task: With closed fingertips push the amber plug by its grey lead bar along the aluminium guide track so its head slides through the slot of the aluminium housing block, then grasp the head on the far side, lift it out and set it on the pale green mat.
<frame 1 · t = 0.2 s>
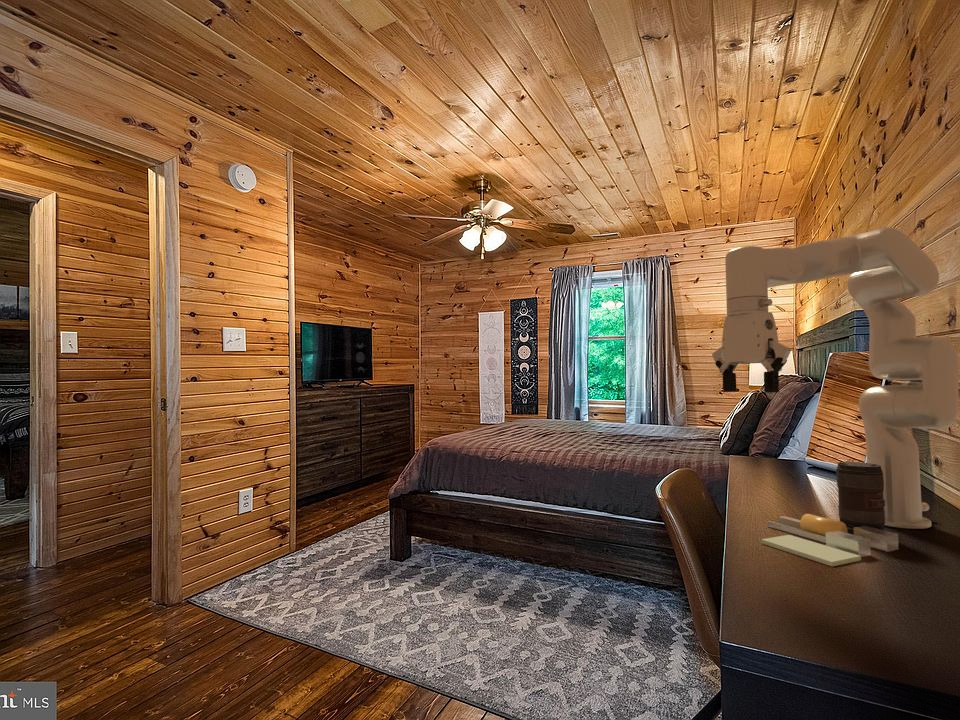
hand: (749, 391, 102), 31 cm above the table, fingers open, 9 cm apart
housing: (862, 548, 98), on the table
mat: (808, 551, 97), on the table
plug: (823, 537, 105), on the table
camera lens: (862, 535, 107), on the table
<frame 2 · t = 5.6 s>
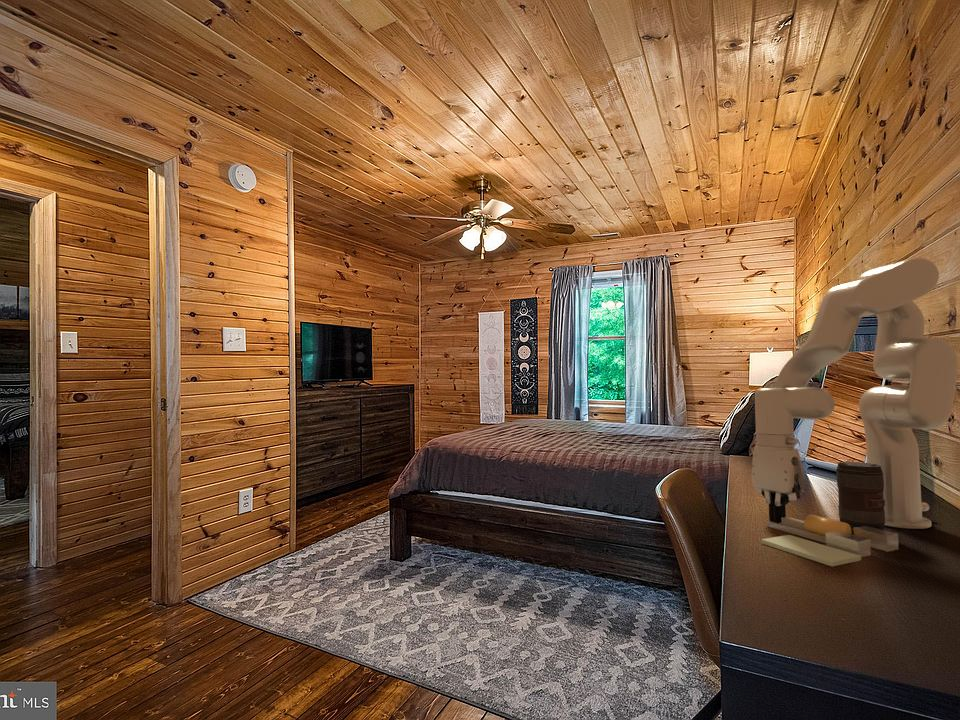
hand: (777, 521, 115), 1 cm above the table, fingers closed
plug: (827, 539, 104), on the table, touching gripper
everything else where it was.
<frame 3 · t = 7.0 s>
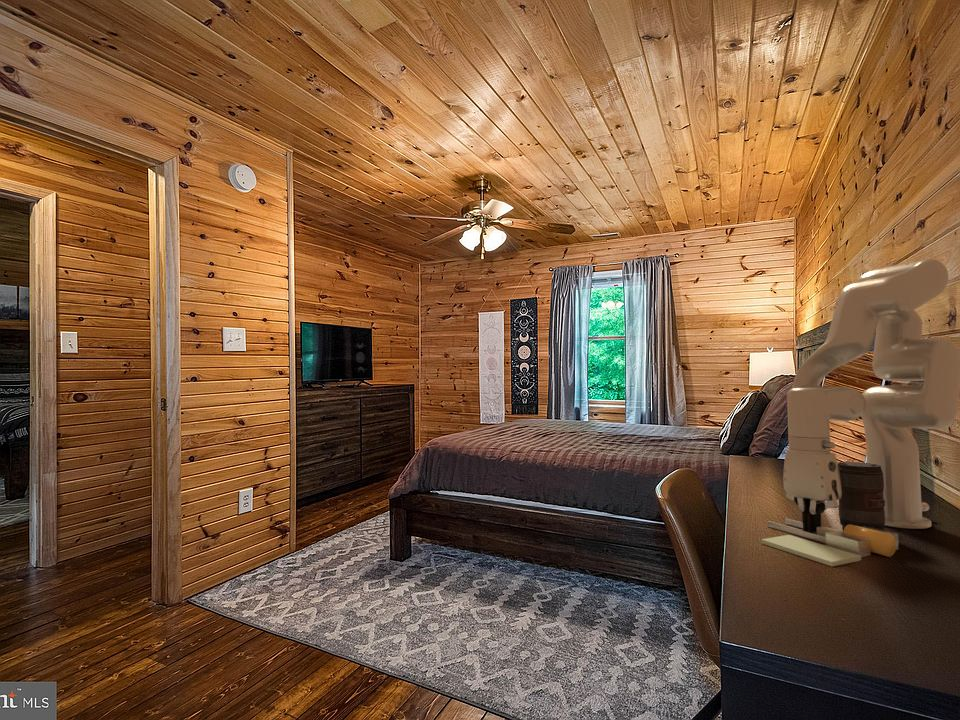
hand: (812, 531, 107), 1 cm above the table, fingers closed
plug: (869, 550, 97), on the table, touching gripper
everything else where it was.
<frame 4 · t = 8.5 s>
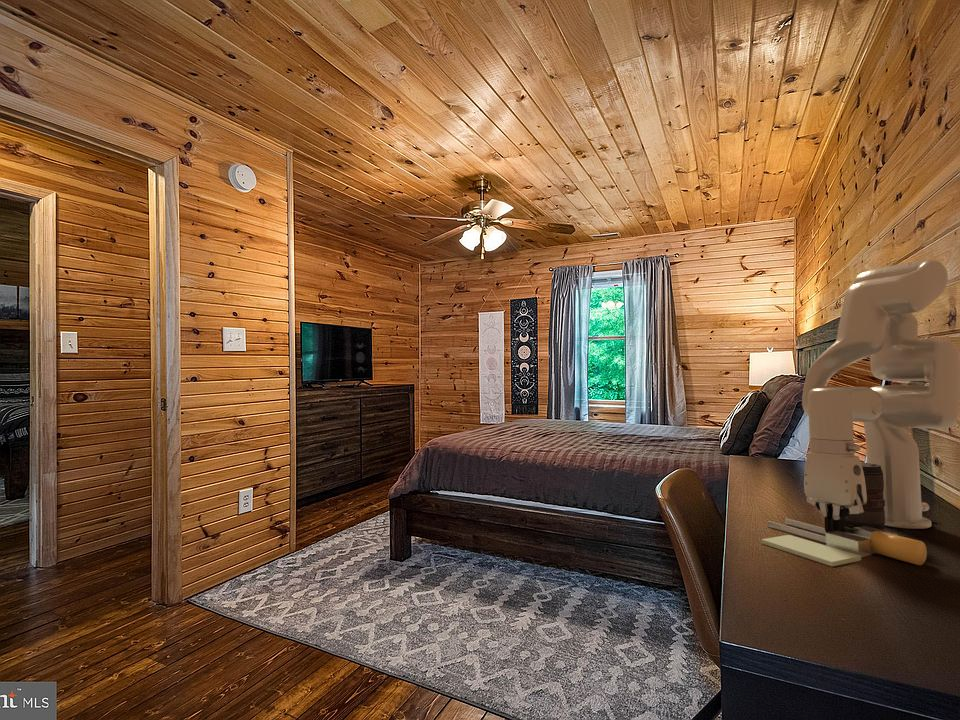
hand: (834, 537, 103), 1 cm above the table, fingers closed
plug: (897, 558, 92), on the table, touching gripper
everything else where it was.
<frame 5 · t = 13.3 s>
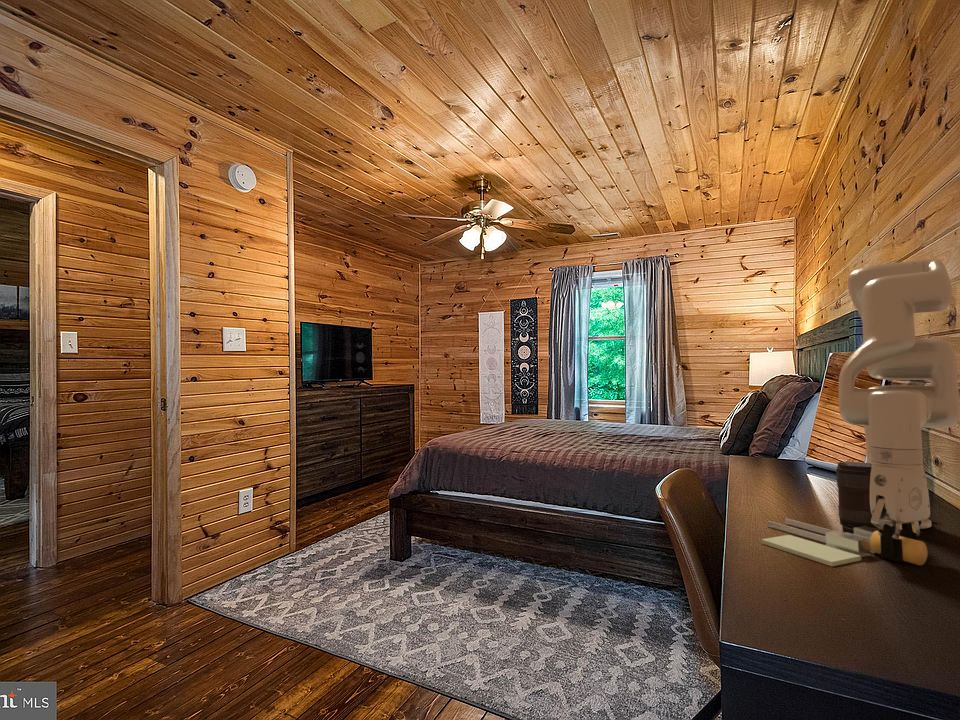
hand: (900, 556, 92), 1 cm above the table, fingers closed on plug, 4 cm apart
plug: (898, 559, 92), on the table, touching gripper
everything else where it was.
when the fingers open (3 cm above the table, at t = 18.4 s): plug drops 1 cm, resting on mat.
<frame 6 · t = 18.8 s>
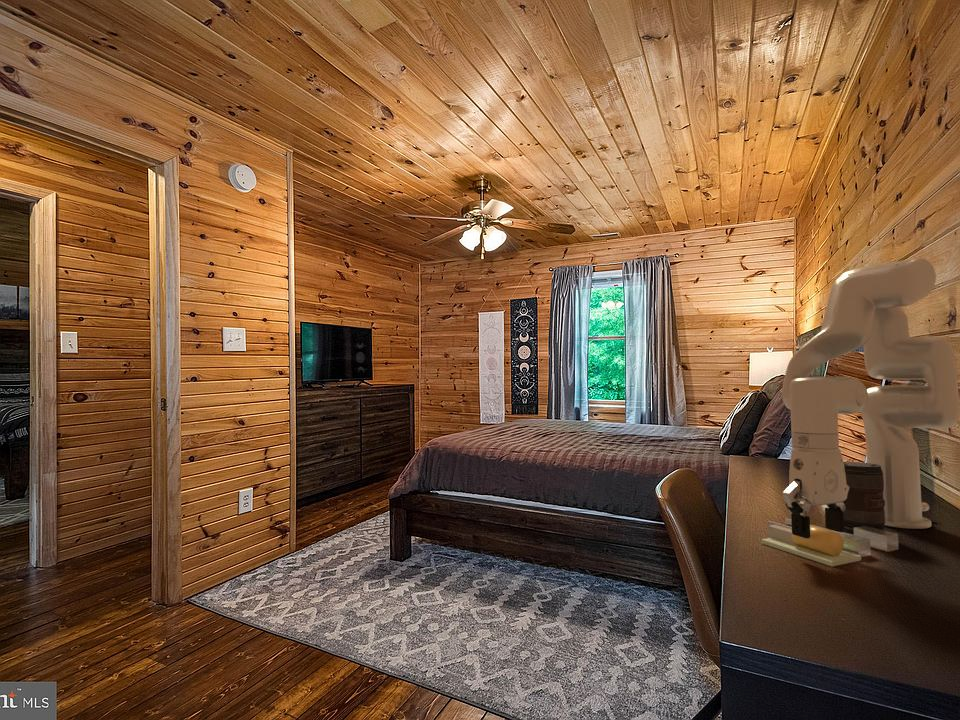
hand: (818, 533, 95), 4 cm above the table, fingers open, 9 cm apart
plug: (817, 550, 95), point 1 cm above the table, touching mat
everything else where it was.
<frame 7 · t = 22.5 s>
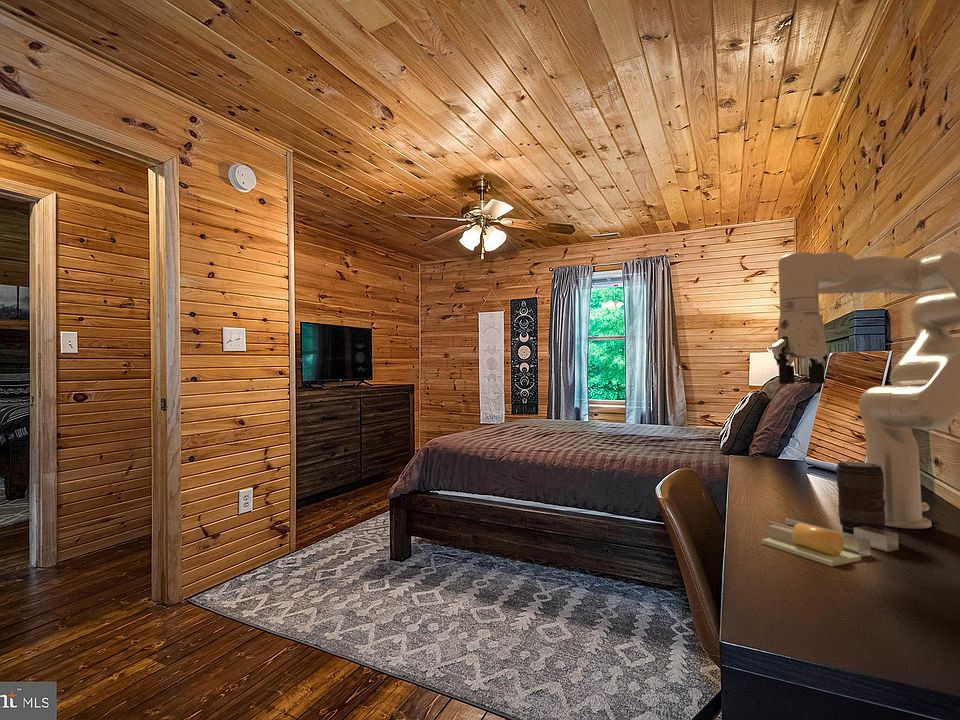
hand: (802, 383, 113), 32 cm above the table, fingers open, 9 cm apart
nothing on the table moved.
at the end: plug inside the target area on the mat (1.8 cm from its centre), point 0.8 cm above the mat's base; the gripper is holding nothing; plug inside the target area (2.4 cm from its centre), point 0.8 cm above the table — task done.
